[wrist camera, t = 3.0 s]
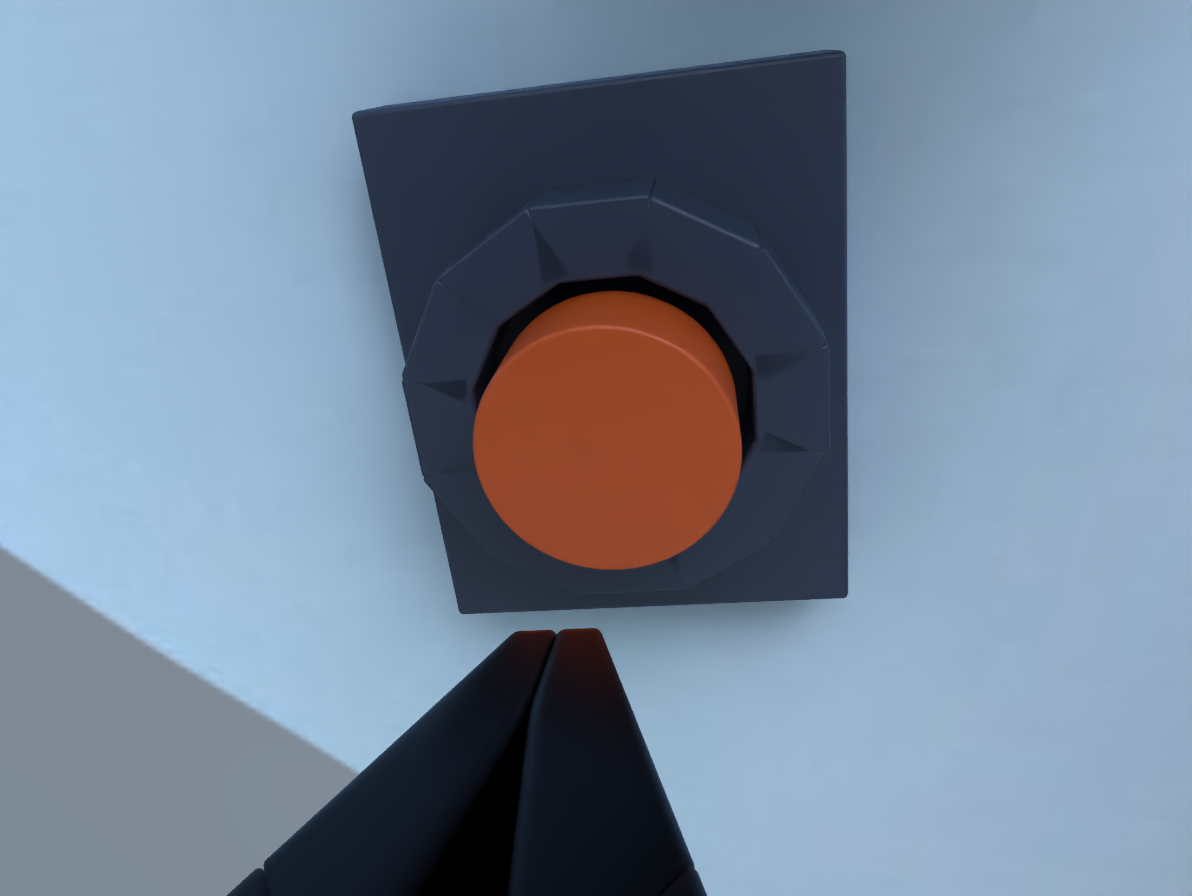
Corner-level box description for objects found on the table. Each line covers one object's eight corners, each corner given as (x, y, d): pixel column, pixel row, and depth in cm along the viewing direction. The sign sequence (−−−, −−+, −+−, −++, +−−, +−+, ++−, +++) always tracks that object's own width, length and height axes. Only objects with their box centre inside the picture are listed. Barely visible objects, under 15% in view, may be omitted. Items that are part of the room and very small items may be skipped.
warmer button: (742, 505, 15) (749, 566, 14) (517, 518, 16) (495, 578, 14) (728, 278, 14) (734, 312, 12) (478, 301, 14) (448, 337, 12)
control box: (836, 554, 19) (864, 656, 16) (476, 572, 20) (436, 671, 17) (831, 49, 15) (868, 50, 12) (381, 105, 16) (305, 121, 13)
